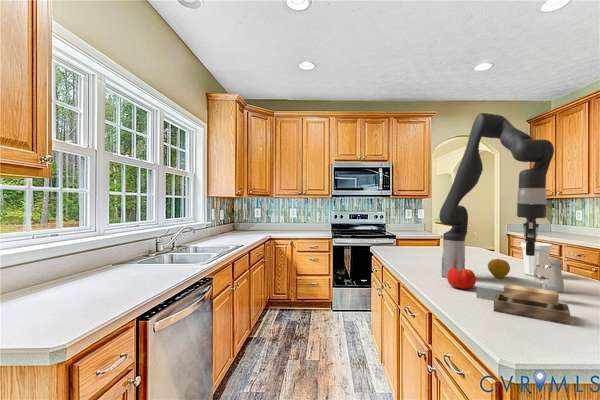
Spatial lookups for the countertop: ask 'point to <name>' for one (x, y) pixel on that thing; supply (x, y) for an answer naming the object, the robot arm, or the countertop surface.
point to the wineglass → (544, 274)
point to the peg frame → (532, 309)
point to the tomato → (461, 278)
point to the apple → (498, 268)
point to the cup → (536, 257)
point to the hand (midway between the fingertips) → (530, 253)
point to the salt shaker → (556, 276)
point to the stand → (488, 292)
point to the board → (531, 294)
